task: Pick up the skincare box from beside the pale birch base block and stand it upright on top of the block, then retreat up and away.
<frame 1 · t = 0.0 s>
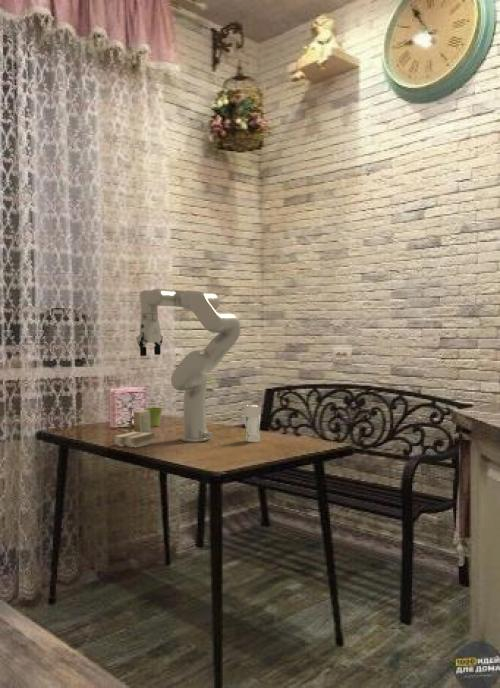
hand: (150, 355, 271), 37 cm above the table, tool pointing down, fingers open, 9 cm apart
skincare box: (142, 438, 266), on the table
plant pot: (153, 426, 300), on the table
birch base block: (134, 444, 253), on the table
beer glass: (253, 441, 253), on the table
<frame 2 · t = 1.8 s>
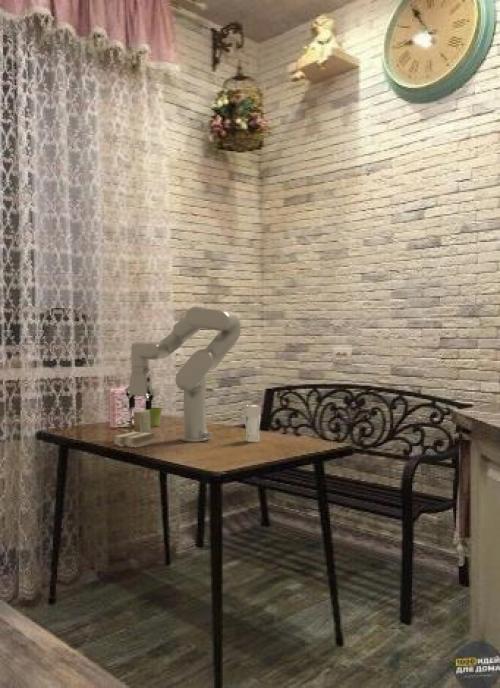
hand: (140, 408, 266), 13 cm above the table, tool pointing down, fingers open, 9 cm apart
nothing on the table moved.
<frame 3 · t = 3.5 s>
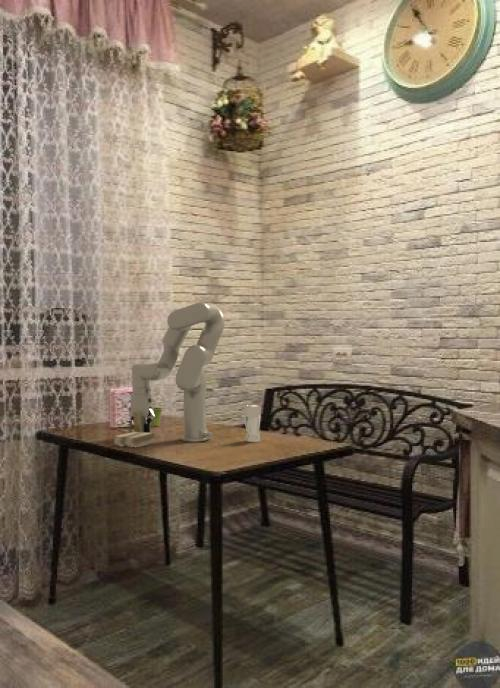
hand: (142, 431, 266), 3 cm above the table, tool pointing down, fingers closed on skincare box, 4 cm apart
skincare box: (142, 438, 266), on the table, touching gripper
everything else where it was.
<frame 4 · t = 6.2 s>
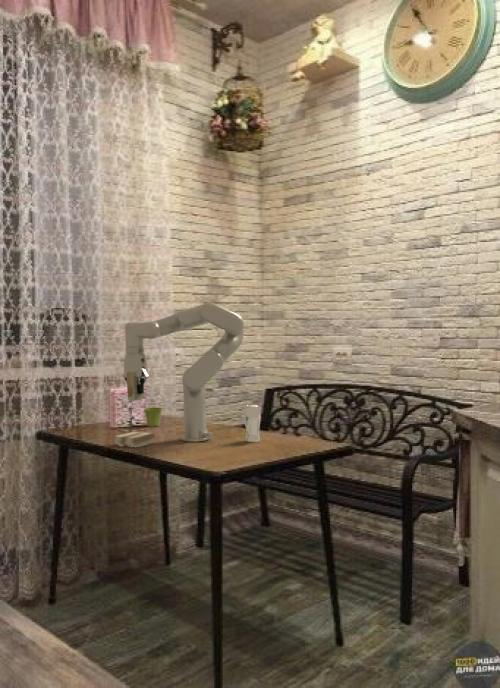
hand: (135, 392, 257), 21 cm above the table, tool pointing down, fingers closed on skincare box, 4 cm apart
skincare box: (136, 400, 257), point 18 cm above the table, touching gripper
everything else where it was.
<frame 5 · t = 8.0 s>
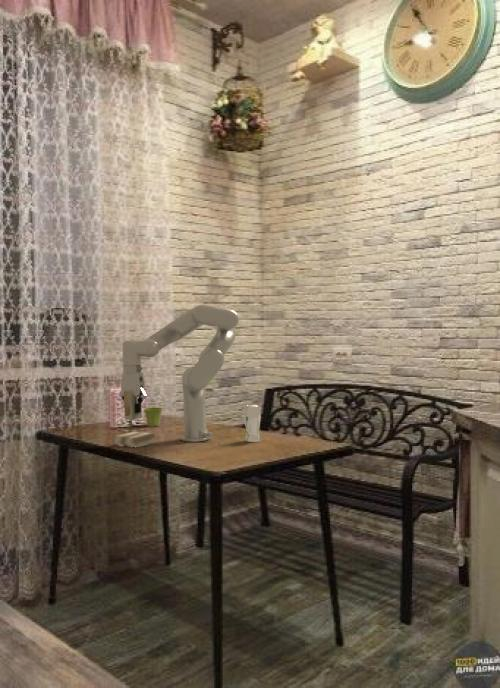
hand: (133, 412, 252), 14 cm above the table, tool pointing down, fingers closed on skincare box, 4 cm apart
skincare box: (133, 419, 253), point 11 cm above the table, touching gripper
everything else where it was.
when the fingers open (9 cm above the table, at t = 9.3 s): skincare box drops 2 cm, resting on birch base block.
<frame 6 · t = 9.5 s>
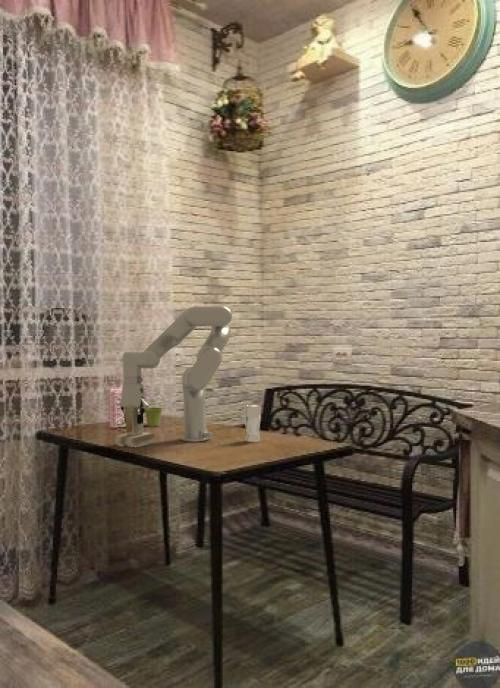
hand: (133, 422, 253), 9 cm above the table, tool pointing down, fingers open, 6 cm apart
skincare box: (134, 435, 253), point 4 cm above the table, touching birch base block
everything else where it was.
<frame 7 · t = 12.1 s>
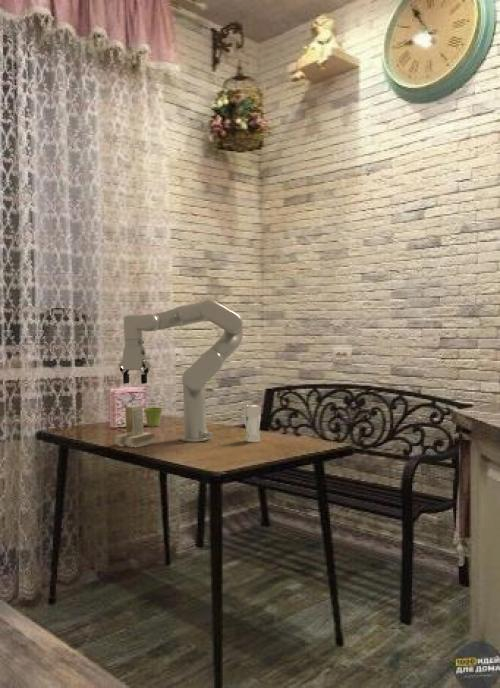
hand: (135, 383, 257), 25 cm above the table, tool pointing down, fingers open, 9 cm apart
nothing on the table moved.
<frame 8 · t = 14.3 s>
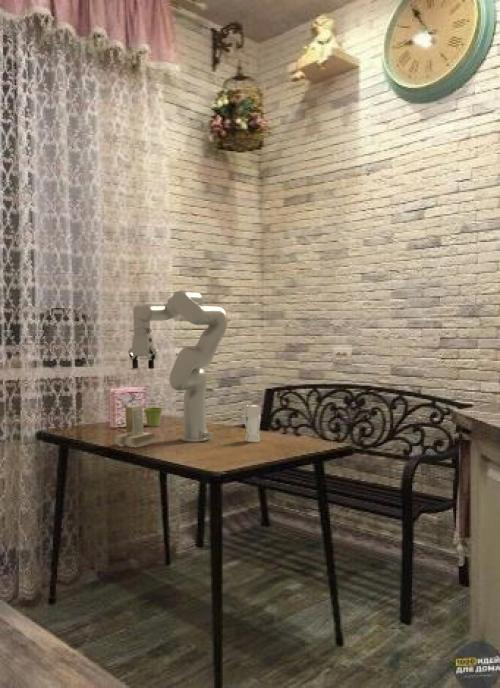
hand: (143, 368, 279), 30 cm above the table, tool pointing down, fingers open, 9 cm apart
nothing on the table moved.
at the end: skincare box inside the target area on the birch base block (0.2 cm from its centre), point 3.8 cm above the birch base block's base; skincare box tilted 0°; the gripper is holding nothing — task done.
